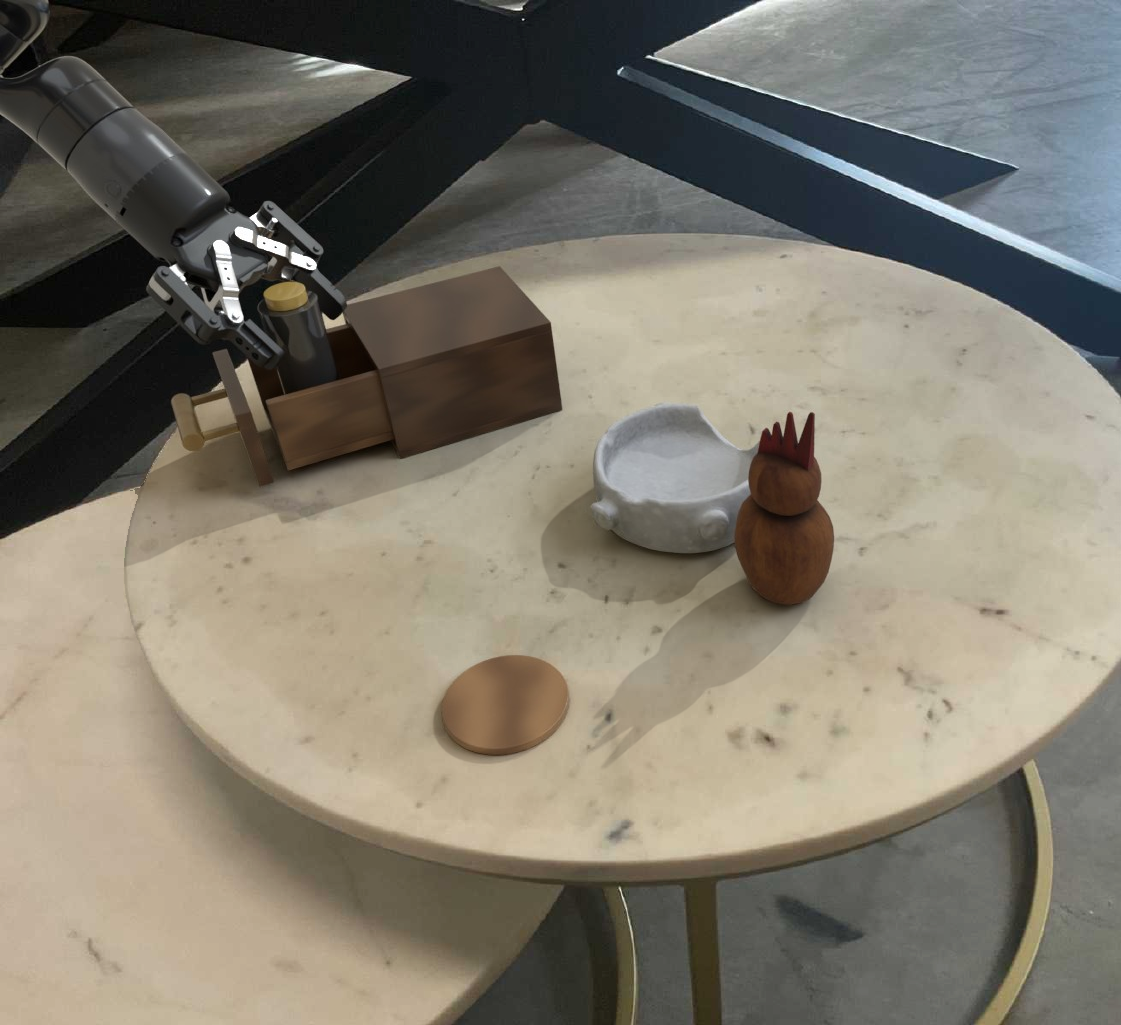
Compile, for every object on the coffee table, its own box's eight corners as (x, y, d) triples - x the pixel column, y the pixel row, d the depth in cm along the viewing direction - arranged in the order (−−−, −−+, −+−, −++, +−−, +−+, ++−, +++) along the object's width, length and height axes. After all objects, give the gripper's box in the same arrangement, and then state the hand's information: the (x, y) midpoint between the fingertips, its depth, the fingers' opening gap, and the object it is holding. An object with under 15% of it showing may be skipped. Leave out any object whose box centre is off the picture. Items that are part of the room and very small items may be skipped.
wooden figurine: (847, 595, 79) (857, 412, 69) (781, 630, 76) (782, 445, 67) (786, 546, 83) (788, 368, 74) (722, 578, 81) (716, 397, 72)
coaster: (466, 774, 68) (464, 767, 67) (427, 688, 73) (425, 682, 73) (589, 724, 70) (588, 717, 70) (542, 645, 76) (541, 638, 76)
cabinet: (400, 459, 95) (378, 369, 89) (362, 391, 104) (340, 306, 98) (562, 410, 99) (551, 322, 94) (513, 349, 108) (500, 265, 103)
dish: (647, 437, 95) (643, 386, 92) (801, 476, 90) (802, 423, 87) (555, 537, 85) (546, 483, 82) (721, 587, 80) (719, 531, 77)
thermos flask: (299, 440, 94) (259, 309, 87) (288, 414, 97) (249, 286, 90) (354, 424, 95) (319, 294, 88) (341, 399, 99) (307, 272, 91)
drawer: (204, 504, 89) (176, 431, 85) (184, 434, 97) (158, 365, 93) (422, 438, 95) (406, 368, 91) (387, 378, 103) (370, 311, 99)
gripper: (195, 181, 95) (342, 322, 99) (66, 252, 85) (236, 406, 88) (227, 122, 90) (381, 272, 94) (95, 190, 80) (273, 356, 83)
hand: (310, 337), depth 91 cm, fingers open, 8 cm apart
